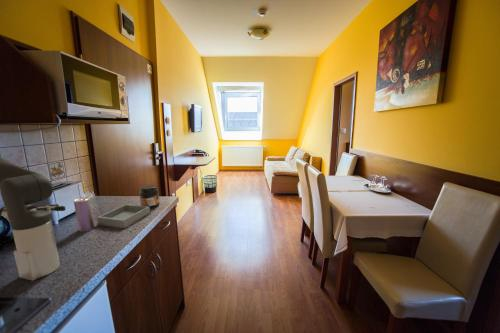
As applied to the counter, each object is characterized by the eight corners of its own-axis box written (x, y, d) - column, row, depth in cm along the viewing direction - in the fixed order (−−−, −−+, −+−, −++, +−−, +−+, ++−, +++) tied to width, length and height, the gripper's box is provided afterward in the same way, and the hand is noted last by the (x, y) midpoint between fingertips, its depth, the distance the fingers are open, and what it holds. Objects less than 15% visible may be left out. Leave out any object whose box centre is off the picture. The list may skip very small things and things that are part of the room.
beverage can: (86, 232, 101) (80, 201, 98) (75, 231, 102) (70, 201, 99) (97, 226, 106) (92, 197, 103) (87, 225, 107) (82, 196, 104)
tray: (124, 228, 104) (123, 220, 104) (98, 224, 108) (96, 217, 108) (150, 213, 121) (149, 206, 121) (126, 210, 126) (125, 204, 125)
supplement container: (152, 209, 127) (150, 190, 124) (136, 208, 129) (134, 188, 127) (163, 203, 137) (161, 184, 135) (148, 202, 139) (146, 184, 137)
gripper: (2, 211, 92) (43, 210, 94) (32, 200, 106) (67, 198, 107) (6, 228, 94) (47, 226, 95) (35, 214, 108) (70, 213, 109)
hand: (58, 211), depth 101 cm, fingers open, 8 cm apart
